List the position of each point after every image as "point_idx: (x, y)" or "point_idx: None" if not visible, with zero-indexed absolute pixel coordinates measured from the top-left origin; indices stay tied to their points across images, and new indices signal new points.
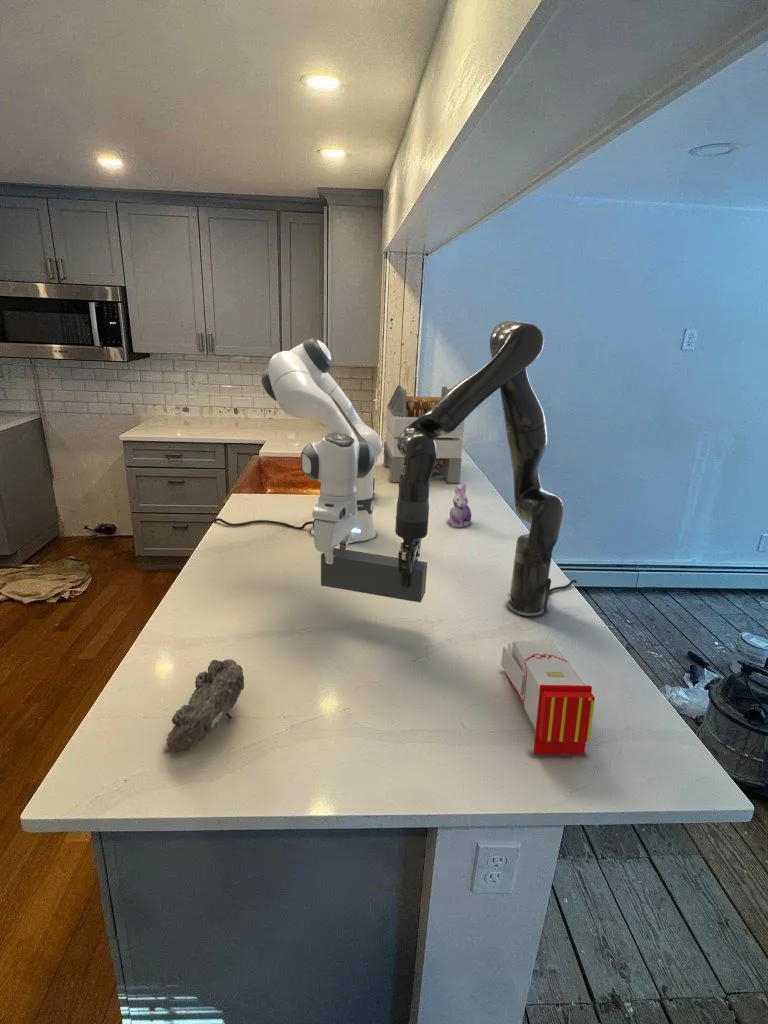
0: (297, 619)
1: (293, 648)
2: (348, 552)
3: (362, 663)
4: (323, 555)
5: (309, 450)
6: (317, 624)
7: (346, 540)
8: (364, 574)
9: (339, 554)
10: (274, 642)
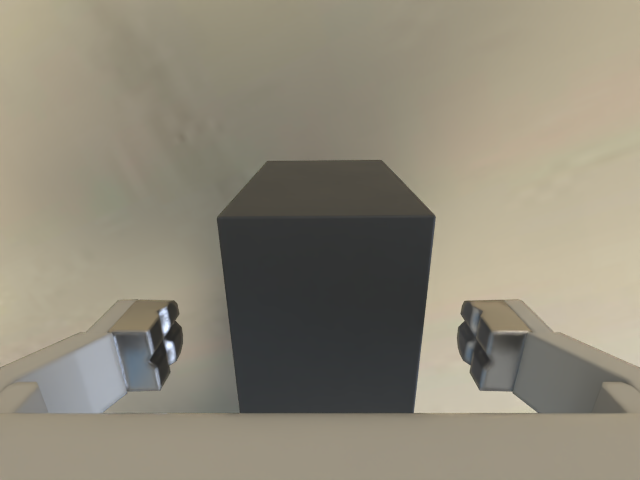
0: (235, 57)
1: (64, 131)
2: (364, 405)
3: None
4: (220, 243)
5: None
6: (236, 148)
7: (529, 394)
8: None
9: (298, 358)
10: (55, 45)
